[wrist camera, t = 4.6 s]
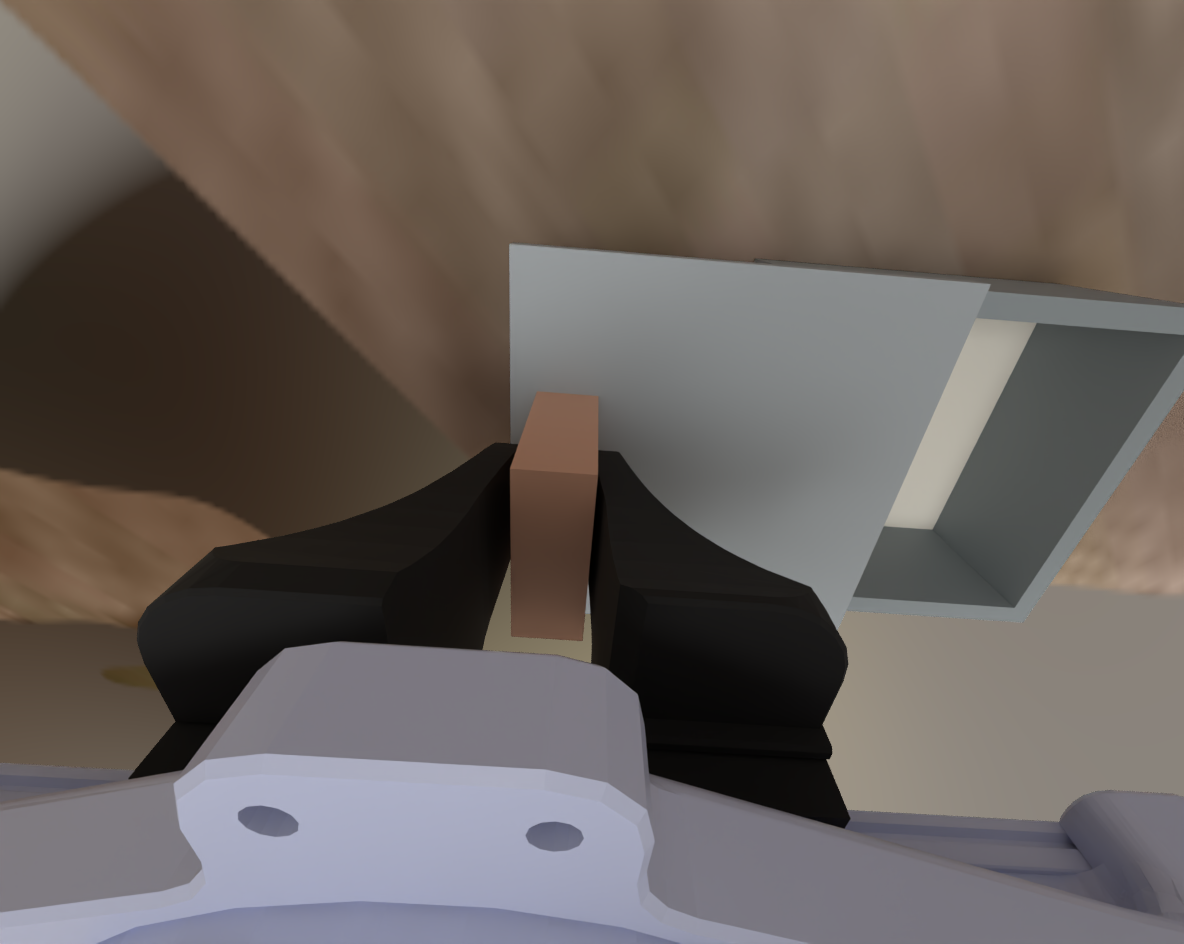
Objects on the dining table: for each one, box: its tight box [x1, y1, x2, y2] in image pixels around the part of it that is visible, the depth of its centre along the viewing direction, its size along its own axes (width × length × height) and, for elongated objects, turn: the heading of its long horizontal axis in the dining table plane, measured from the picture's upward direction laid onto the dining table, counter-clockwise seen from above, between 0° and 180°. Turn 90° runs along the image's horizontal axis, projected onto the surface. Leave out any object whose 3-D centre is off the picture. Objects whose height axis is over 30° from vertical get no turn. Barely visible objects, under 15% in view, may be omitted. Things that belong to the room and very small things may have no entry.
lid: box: [509, 242, 991, 641], centre depth 11 cm, size 10×10×5 cm
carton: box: [754, 259, 1184, 622], centre depth 16 cm, size 10×10×5 cm
